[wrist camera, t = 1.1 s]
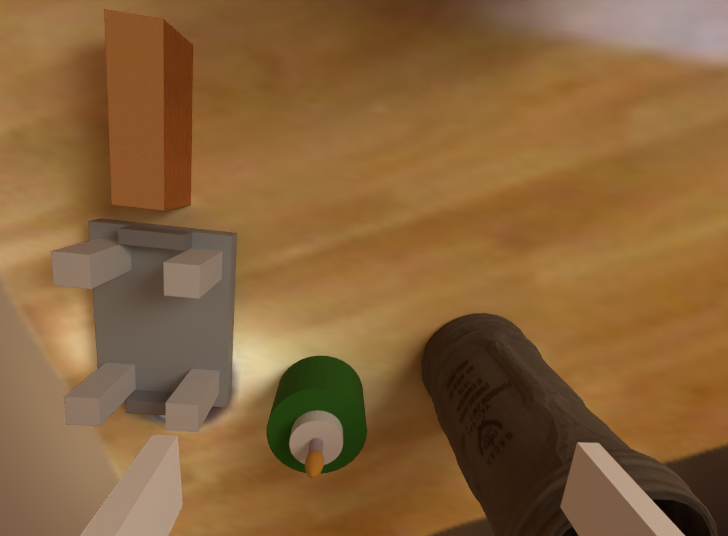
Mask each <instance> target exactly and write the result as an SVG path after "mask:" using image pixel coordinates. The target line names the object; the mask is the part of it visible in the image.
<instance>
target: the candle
mask: <svg viewBox="0 0 728 536" xmlns="http://www.w3.org/2000/svg"><path fill="white" fill-rule="evenodd" d="M366 434H367V427H366V417H365V407H364V398H363V388H362V384H361V381H360V378H359V376H358V375H357V373H356V372H355V371H354V370H353V369H352V367H351V366H349V365H348V364H346V363H345V362H344V361H341V360H339V359H337V358H333V357H329V356H313V357H308V358H305V359H302V360H300V361H298V362H296V363H295V364H293V365H292V366H291V367H290V368H288V370H287V371H286V372H285V373H284V374H283V376H282V378H281V380H280V383H279V386H278V390H277V393H276V397H275V400H274V404H273V407H272V410H271V414H270V417H269V421H268V425H267V439H268V444H269V446H270V448H271V450H272V452H273V453H274V455H275V456H276V457H277V458H278V459H279V460H280V461H281V462H282V463H283V464H285V465H286V466H288V467H290V468H292V469H294V470H297V471H299V472H304V473H307V475H308V476H309V477H310V478H316V477H317V476H318V475H319V474H321V473H328V472H332V471H335V470H338V469H340V468H342V467H344V466H346V465H347V464H348V463H350V462H351V461H353V460H354V458H355V457H356V456H357V455H358V454H359V453H360V451H361V449H362V448H363V446H364V443H365V440H366Z"/></svg>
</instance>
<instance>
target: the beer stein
mask: <svg viewBox="0 0 728 536" xmlns="http://www.w3.org/2000/svg"><path fill="white" fill-rule="evenodd" d="M422 378H423V382H424V385H425V387H426V389H427V391H428V393H429V395H430V396H431V398H432V401H433V403H434V407H435V410H436V414H437V416H438V420H439V423H440V425H441V428H442V430H443V431H444V433H445V434H446V436H447V438H448V440H449V443H450V445H451V447H452V449H453V451H454V453H455V456H456V459H457V462H458V465H459V467H460V469H461V471H462V473H463V475H464V477H465V479H466V481H467V483H468V486H469V488H470V490H471V491H472V493H473V494H474V496H475V498H476V499H477V500H478V501H479V503H480V504H481V506H482V508H483V510H484V512H485V514H486V516H487V518H488V520H489V522H490V525H491V527H492V529H493V532H494V534H495V536H579V535H578V534H577V532H576V531H575V529H574V528H573V526H572V524H571V523H570V521H569V520H568V518H567V517H566V515H565V514H564V512H563V510H562V509H561V507H560V506H561V502H562V499H563V495H564V491H565V487H566V483H567V479H568V476H569V472H570V468H571V464H572V460H573V456H574V452H575V449H576V445H577V442H581V443H599V444H600V445H601V446H602V447H603V448H604V449H605V450H606V451H607V452H608V453H609V455H610V456H611V457H612V458H613V459H614V460H615V461H616V462H617V463H618V464H619V465H620V466H621V467H622V468H623V470H624V471H625V472H626V473H627V474H628V475H629V476H630V477H631V478H632V479H633V480H634V481H635V482H636V484H637V485H638V486H639V487H640V488H641V489H642V490H643V491H644V492H645V493H646V494H647V495H648V496H649V497H650V499H651V500H652V501H653V502H654V503H655V504H656V505H657V506H658V507H659V508H660V509H661V510H662V511H663V512H664V514H665V515H666V516H667V517H668V518H669V519H670V520H671V521H672V522H673V523H674V524H675V525H676V526H677V528H678V529H679V530H680V531H681V532H682V533H683V534H684V535H685V536H718V535H717V527H716V524H715V522H714V520H713V518H712V517H711V515H710V513H709V511H708V509H707V508H706V507H705V506H704V505H703V504H702V503H701V502H700V501H699V500H698V498H697V497H696V496H695V495H694V494H693V493H692V492H691V491H690V489H689V487H688V486H687V484H685V482H684V481H683V480H682V479H681V478H680V477H679V476H678V475H677V474H676V473H674V472H673V471H672V470H670V469H669V468H668V467H666V466H665V465H663V464H662V463H660V462H659V461H657V460H656V459H654V458H652V457H649V456H647V455H644V454H642V453H639V452H637V451H635V450H633V449H631V448H630V447H629V446H627V445H626V444H625V443H624V442H623V441H622V440H621V439H620V438H619V437H618V436H617V435H616V434H615V433H613V432H612V431H611V430H610V428H609V427H608V426H607V425H606V424H605V423H604V422H603V421H601V420H600V419H599V418H598V417H597V416H595V415H594V414H593V413H592V412H591V411H590V410H589V409H588V408H587V407H586V406H585V404H584V402H583V400H582V399H581V398H580V397H579V396H578V395H577V394H576V393H575V392H574V391H573V390H572V388H571V387H570V386H569V385H568V384H567V383H565V382H564V381H563V380H562V379H561V378H560V377H559V376H558V375H557V374H556V373H555V372H554V371H553V370H552V369H551V368H550V367H549V366H548V364H547V363H546V362H545V361H544V360H543V359H542V356H541V354H540V353H539V351H538V349H537V348H536V346H535V345H534V344H533V343H532V342H531V341H530V340H528V339H526V337H525V336H524V334H523V333H522V331H521V330H520V329H519V328H518V327H517V326H515V325H514V324H513V323H512V322H510V321H508V320H507V319H505V318H503V317H500V316H497V315H492V314H486V313H481V314H471V315H467V316H463V317H460V318H458V319H456V320H453V321H452V322H450V323H449V324H447V325H446V326H444V327H443V328H442V329H441V330H439V331H438V332H437V333H436V335H435V336H434V337H433V338H432V339H431V341H430V342H429V344H428V346H427V349H426V351H425V354H424V358H423V361H422Z"/></svg>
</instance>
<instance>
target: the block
mask: <svg viewBox="0 0 728 536" xmlns="http://www.w3.org/2000/svg"><path fill="white" fill-rule="evenodd" d="M104 16H105V43H106V69H107V96H108V122H109V149H110V176H111V202H112V205H119V206H128V207H136V208H145V209H153V210H162V211H165V210H170V209H175V208H179V207H184V206H189V205H191V153H192V82H193V45H192V44H191V43H190V42H189V41H188V40H187V39H185V38H184V37H183V36H182V35H181V34H180V33H179V32H177V31H176V30H175V29H174V28H173V27H172V26H171V25H169V24H168V23H167V22H166V21H165V20H164V19H160V18H154V17H148V16H142V15H136V14H130V13H124V12H118V11H112V10H106V9H104Z"/></svg>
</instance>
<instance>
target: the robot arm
mask: <svg viewBox="0 0 728 536" xmlns="http://www.w3.org/2000/svg"><path fill="white" fill-rule="evenodd" d="M182 506H183V502H182V489H181V476H180V463H179V450H178V437H177V435H152V436H151V437H150V439H149V440H148V441H147V443H146V444H145V446H144V447H143V448H142V450H141V451H140V453H139V454H138V455H137V457H136V458H135V460H134V461H133V462H132V464H131V465H130V467H129V468H128V469H127V471H126V472H125V474H124V475H123V476H122V478H121V479H120V480H119V482H118V483H117V485H116V486H115V488H114V489H113V490H112V492H111V493H110V494H109V496H108V497H107V499H106V500H105V502H104V503H103V504H102V506H101V507H100V509H99V510H98V511H97V513H96V514H95V516H94V517H93V518H92V520H91V521H90V522H89V524H88V525H87V527H86V528H85V529H84V531H83V532H82V534H81V535H80V536H168V535H169V533H170V531H171V529H172V527H173V525H174V523H175V521H176V519H177V517H178V514H179V512H180V510H181V508H182ZM560 507H561V509H562V510H563V512H564V514H565V515H566V517H567V518H568V520H569V521H570V523H571V524H572V526H573V528H574V529H575V531H576V532H577V534H578V535H579V536H685V535H684V534H683V533H682V532H681V531H680V530H679V529H678V528H677V526H676V525H675V524H674V523H673V522H672V521H671V520H670V519H669V518H668V517H667V516H666V515H665V514H664V512H663V511H662V510H661V509H660V508H659V507H658V506H657V505H656V504H655V503H654V502H653V501H652V500H651V499H650V497H649V496H648V495H647V494H646V493H645V492H644V491H643V490H642V489H641V488H640V487H639V486H638V485H637V484H636V482H635V481H634V480H633V479H632V478H631V477H630V476H629V475H628V474H627V473H626V472H625V471H624V470H623V468H622V467H621V466H620V465H619V464H618V463H617V462H616V461H615V460H614V459H613V458H612V457H611V456H610V455H609V453H608V452H607V451H606V450H605V449H604V448H603V447H602V446H601V445H600V444H599V443H581V442H577V445H576V449H575V452H574V456H573V460H572V464H571V468H570V472H569V476H568V479H567V483H566V487H565V491H564V495H563V499H562V502H561V506H560Z"/></svg>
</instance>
